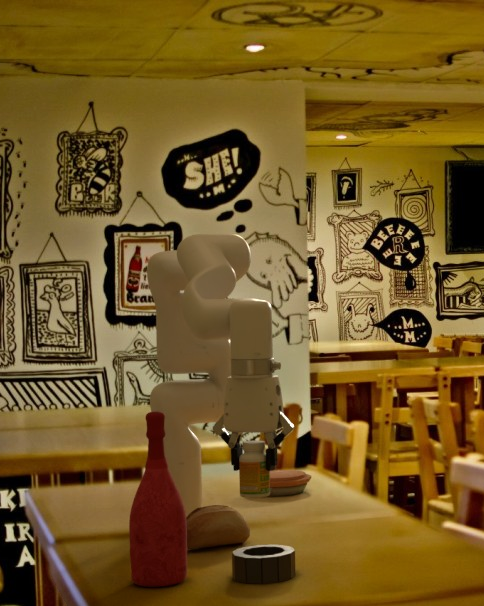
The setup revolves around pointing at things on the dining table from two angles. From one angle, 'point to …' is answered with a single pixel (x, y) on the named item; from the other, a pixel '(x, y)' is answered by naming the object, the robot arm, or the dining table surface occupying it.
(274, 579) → the tape roll
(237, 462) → the robot arm
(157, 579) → the wine bottle
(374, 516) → the dining table surface
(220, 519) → the bread roll
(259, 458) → the supplement bottle
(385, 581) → the dining table surface
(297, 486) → the pie
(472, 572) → the dining table surface
